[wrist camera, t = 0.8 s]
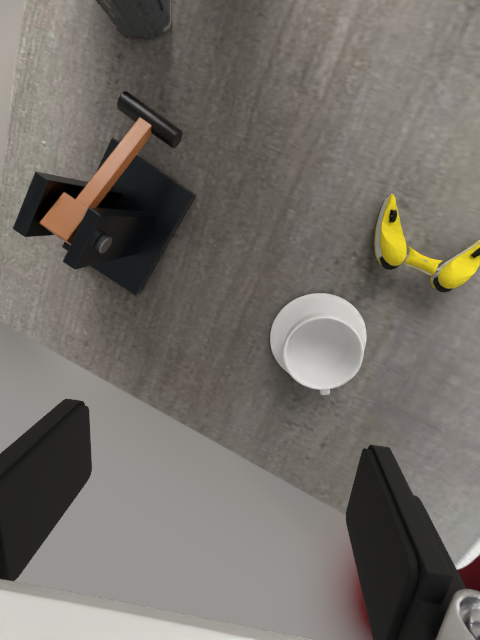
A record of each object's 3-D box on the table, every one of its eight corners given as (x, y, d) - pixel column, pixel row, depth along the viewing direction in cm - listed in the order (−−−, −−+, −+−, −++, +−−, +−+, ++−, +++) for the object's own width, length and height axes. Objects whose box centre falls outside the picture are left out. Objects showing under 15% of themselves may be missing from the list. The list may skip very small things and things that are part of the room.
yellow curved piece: (354, 264, 31) (370, 254, 28) (377, 205, 32) (396, 188, 28) (448, 303, 31) (476, 299, 28) (470, 244, 32) (500, 232, 28)
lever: (131, 104, 26) (125, 81, 24) (183, 142, 27) (182, 122, 24) (37, 223, 25) (20, 210, 22) (94, 260, 25) (83, 252, 23)
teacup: (264, 299, 34) (262, 311, 30) (362, 285, 33) (375, 296, 28) (276, 384, 37) (276, 406, 32) (367, 375, 35) (380, 397, 31)
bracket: (117, 140, 31) (29, 95, 20) (196, 195, 32) (153, 181, 21) (68, 246, 35) (-30, 258, 24) (140, 293, 36) (77, 326, 24)
